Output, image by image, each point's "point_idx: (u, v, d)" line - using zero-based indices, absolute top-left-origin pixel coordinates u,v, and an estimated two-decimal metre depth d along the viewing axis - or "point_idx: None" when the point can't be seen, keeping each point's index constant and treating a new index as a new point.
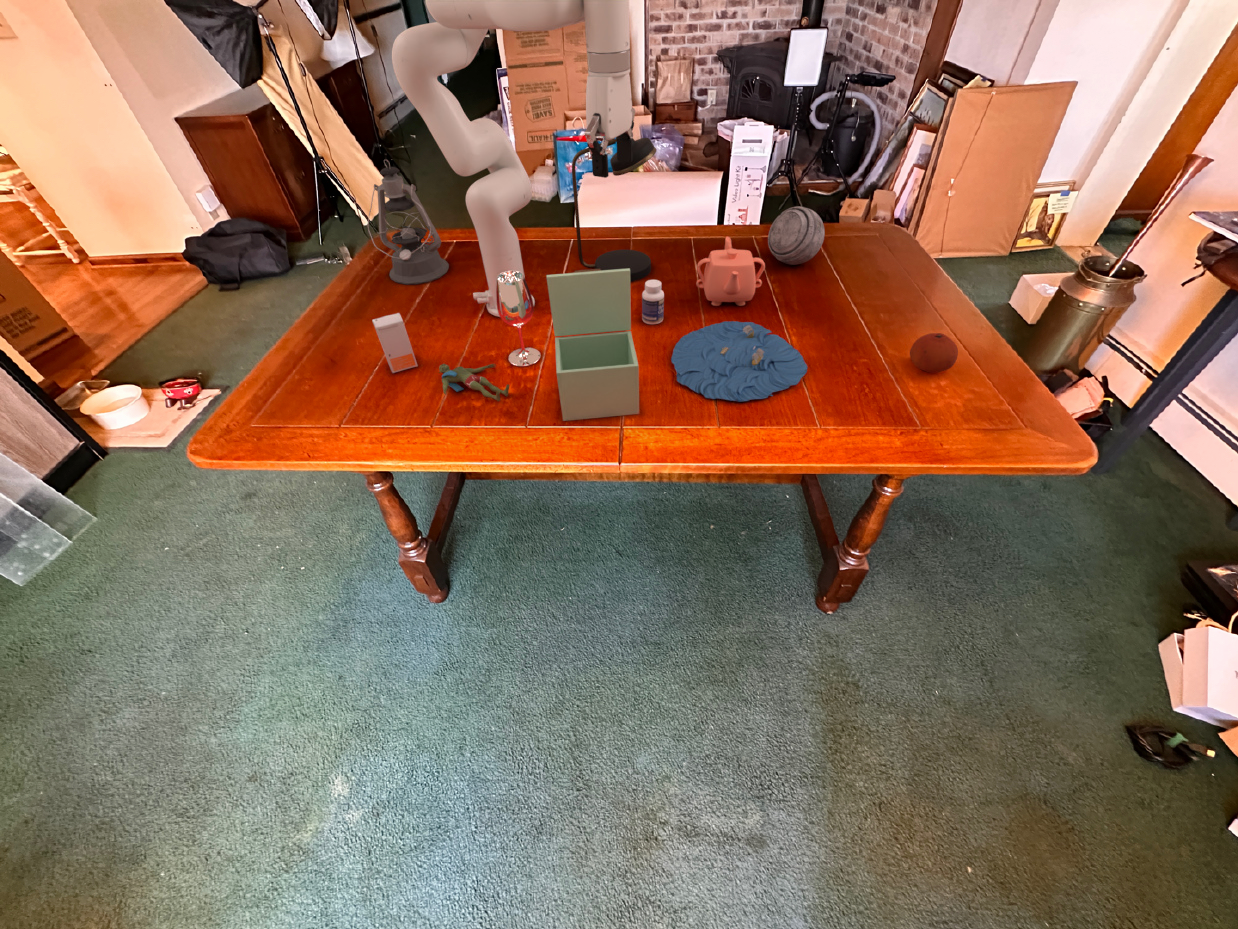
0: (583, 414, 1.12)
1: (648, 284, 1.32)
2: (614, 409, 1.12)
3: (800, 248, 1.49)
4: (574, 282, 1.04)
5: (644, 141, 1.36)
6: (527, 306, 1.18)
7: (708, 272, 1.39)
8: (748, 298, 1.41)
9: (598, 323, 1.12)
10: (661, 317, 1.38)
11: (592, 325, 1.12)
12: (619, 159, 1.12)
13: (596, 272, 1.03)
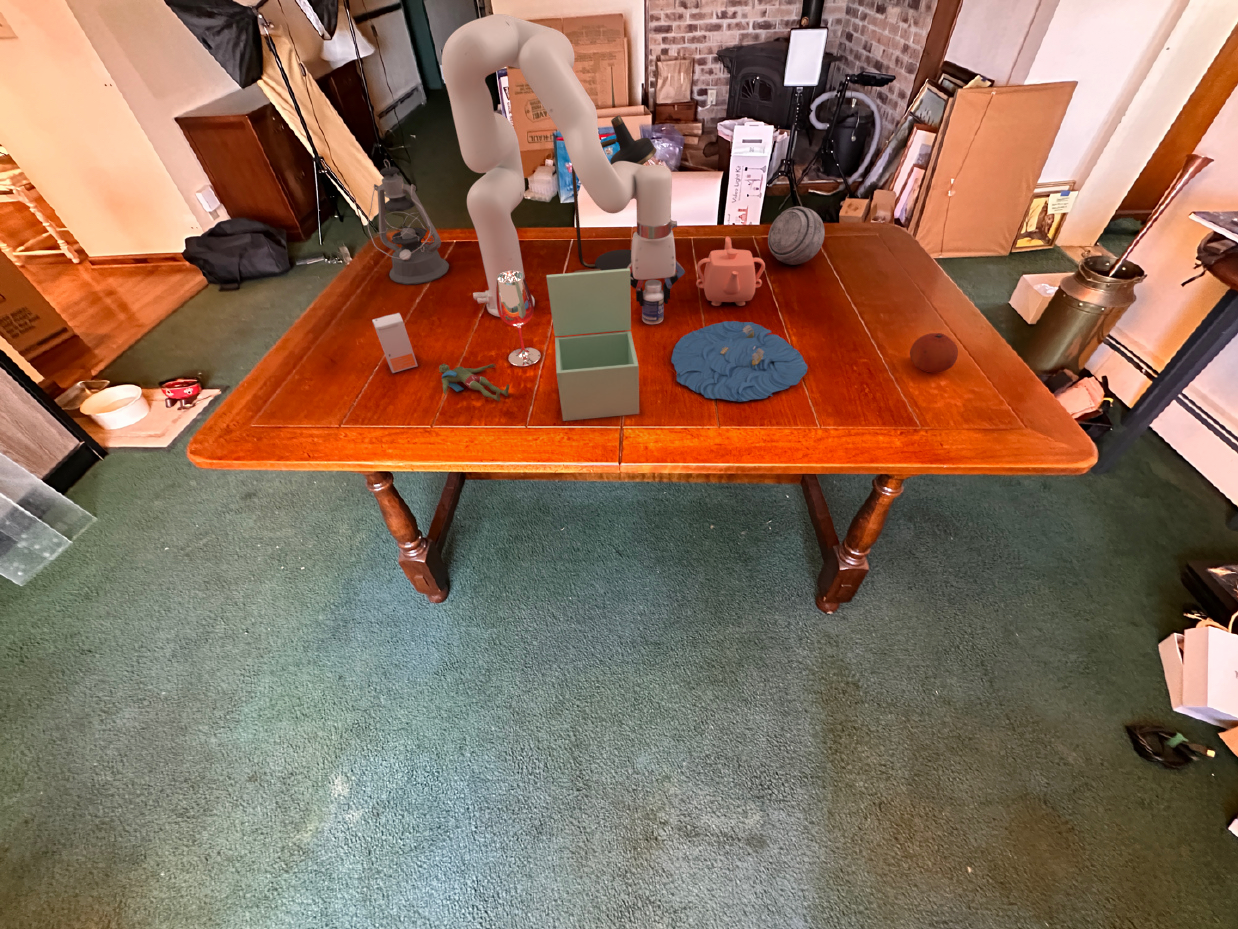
0: (583, 414, 1.12)
1: (648, 284, 1.32)
2: (614, 409, 1.12)
3: (800, 248, 1.49)
4: (574, 282, 1.04)
5: (644, 141, 1.36)
6: (527, 306, 1.18)
7: (708, 272, 1.39)
8: (748, 298, 1.41)
9: (598, 323, 1.12)
10: (661, 317, 1.38)
11: (592, 325, 1.12)
12: None
13: (596, 272, 1.03)
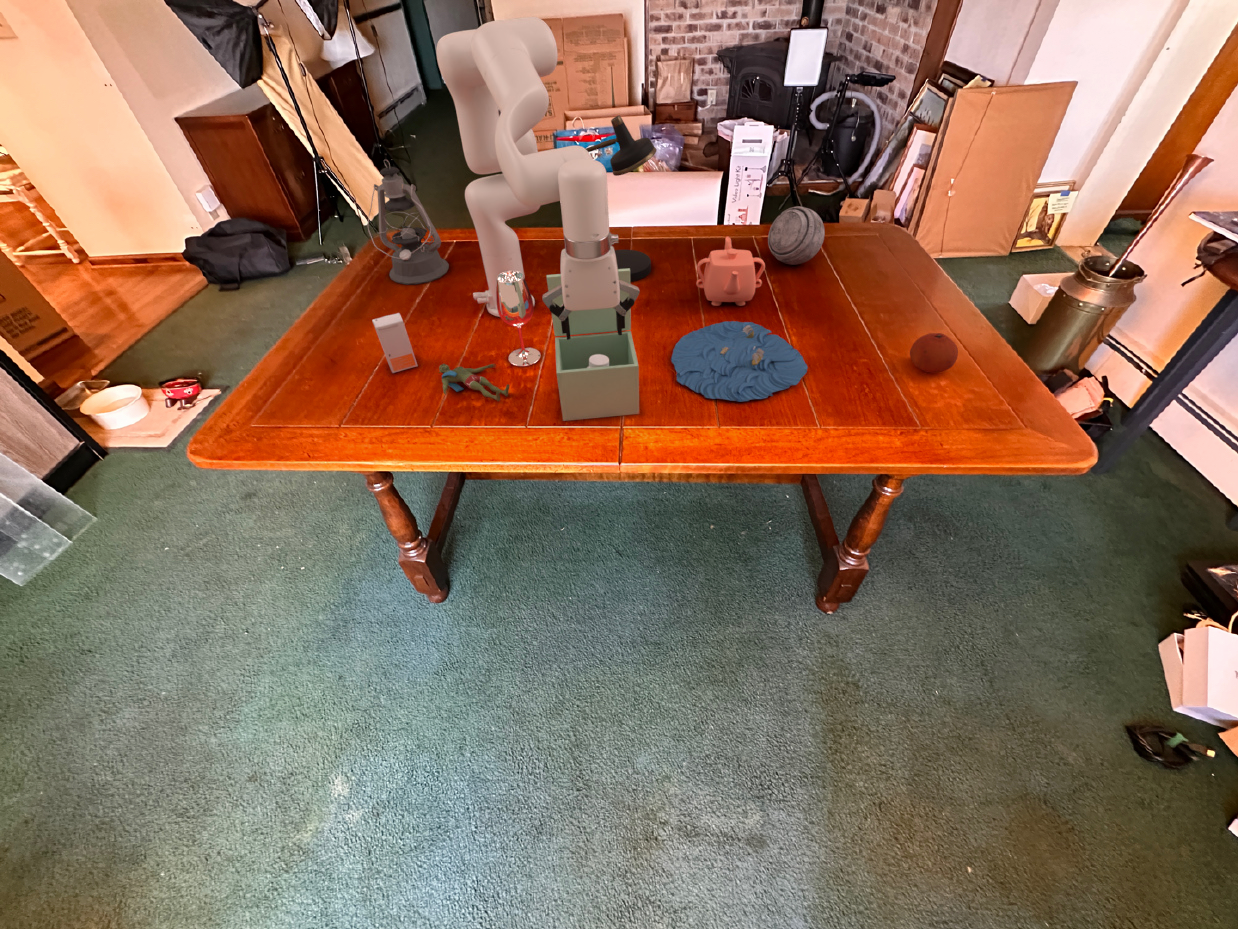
0: (583, 414, 1.12)
1: (592, 360, 1.09)
2: (614, 409, 1.12)
3: (800, 248, 1.49)
4: None
5: (644, 141, 1.36)
6: (527, 306, 1.18)
7: (708, 272, 1.39)
8: (748, 298, 1.41)
9: (598, 323, 1.12)
10: None
11: (592, 325, 1.12)
12: None
13: None
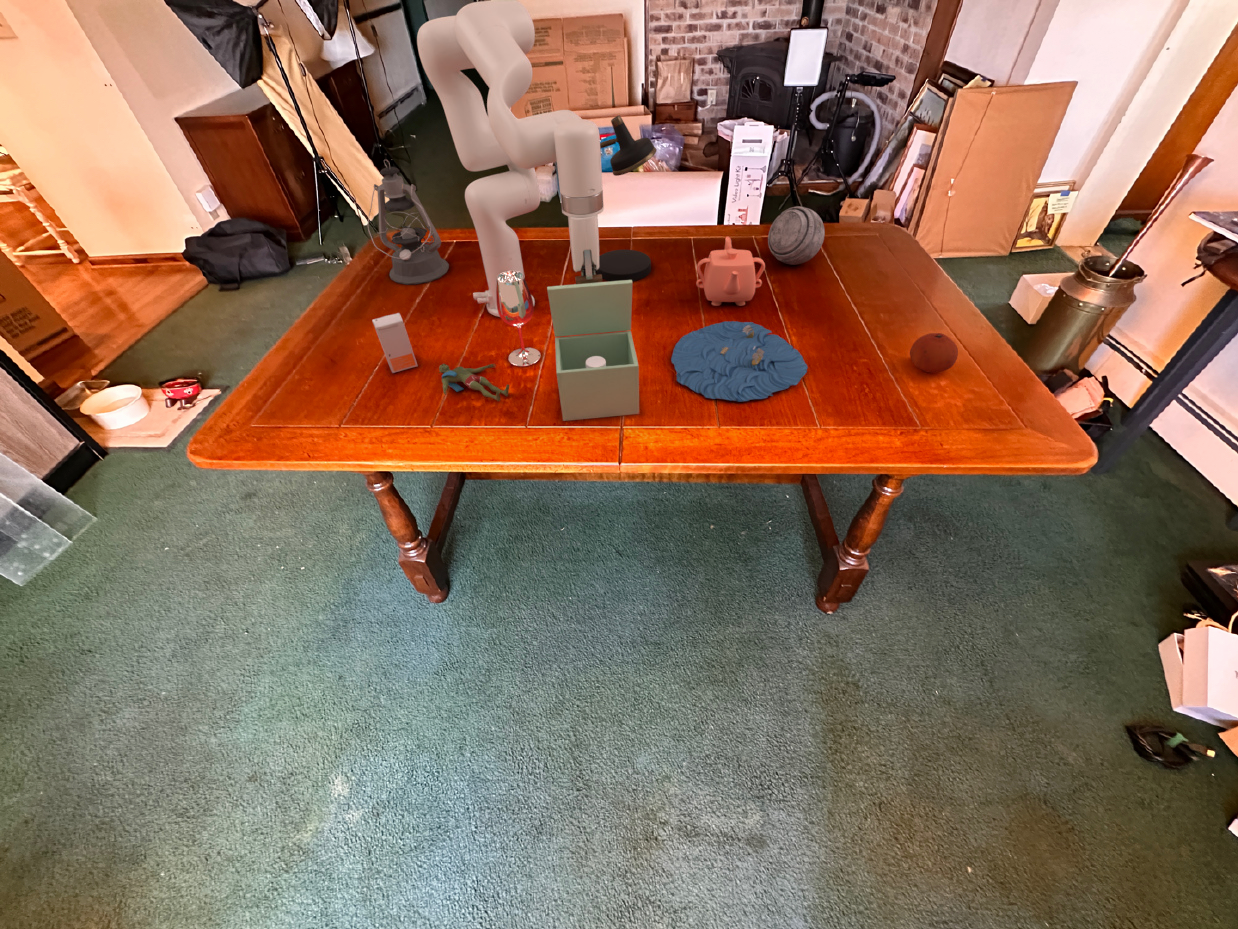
0: (583, 414, 1.12)
1: (589, 363, 1.09)
2: (614, 409, 1.12)
3: (800, 248, 1.49)
4: (575, 293, 1.03)
5: (644, 141, 1.36)
6: (527, 306, 1.18)
7: (708, 272, 1.39)
8: (748, 298, 1.41)
9: (598, 325, 1.11)
10: None
11: (592, 327, 1.12)
12: None
13: (598, 284, 1.02)
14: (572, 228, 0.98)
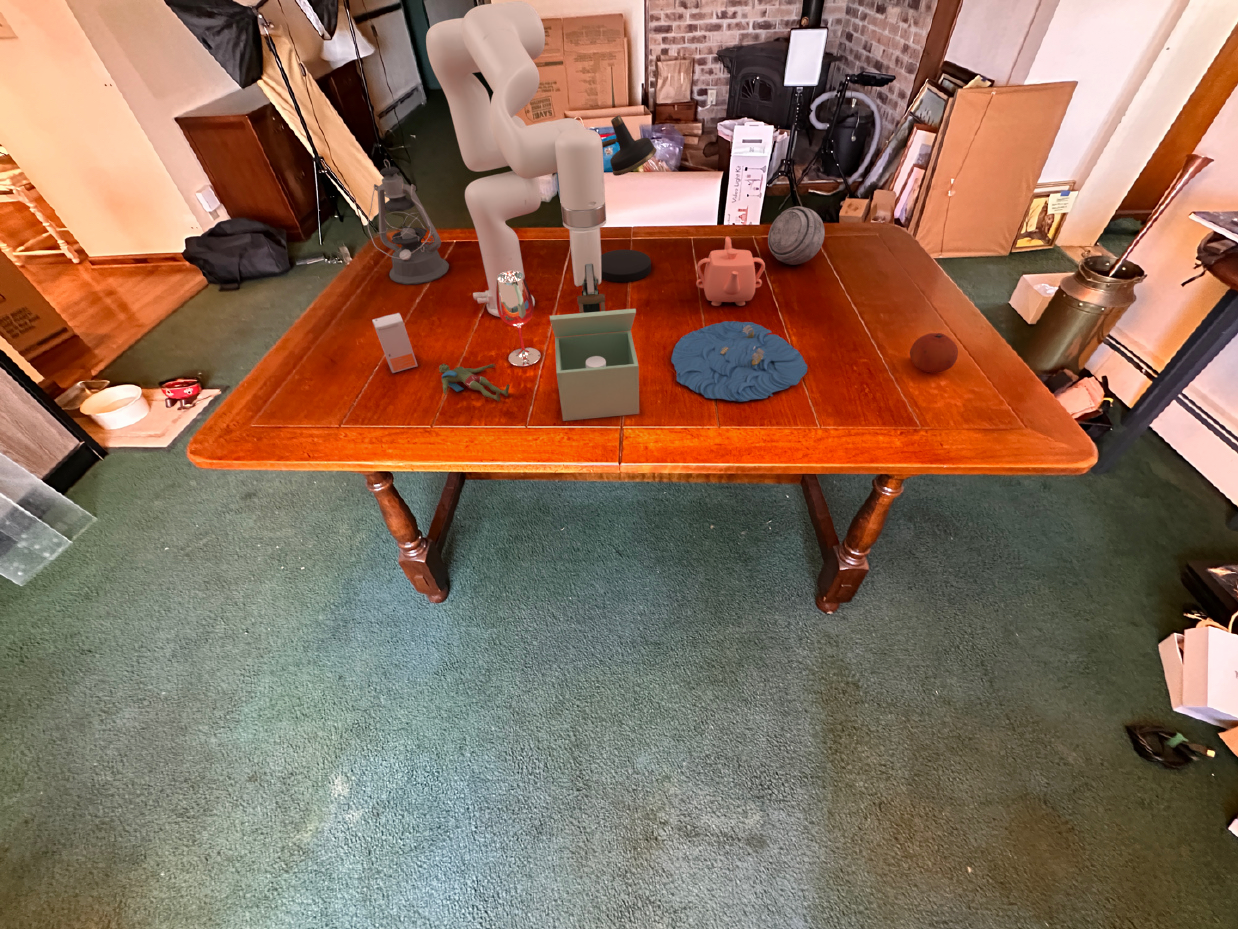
0: (583, 414, 1.12)
1: (589, 363, 1.09)
2: (614, 409, 1.12)
3: (800, 248, 1.49)
4: (578, 320, 1.02)
5: (644, 141, 1.36)
6: (527, 306, 1.18)
7: (708, 272, 1.39)
8: (748, 298, 1.41)
9: (599, 330, 1.11)
10: None
11: (593, 331, 1.12)
12: None
13: (601, 314, 1.00)
14: (573, 242, 0.94)
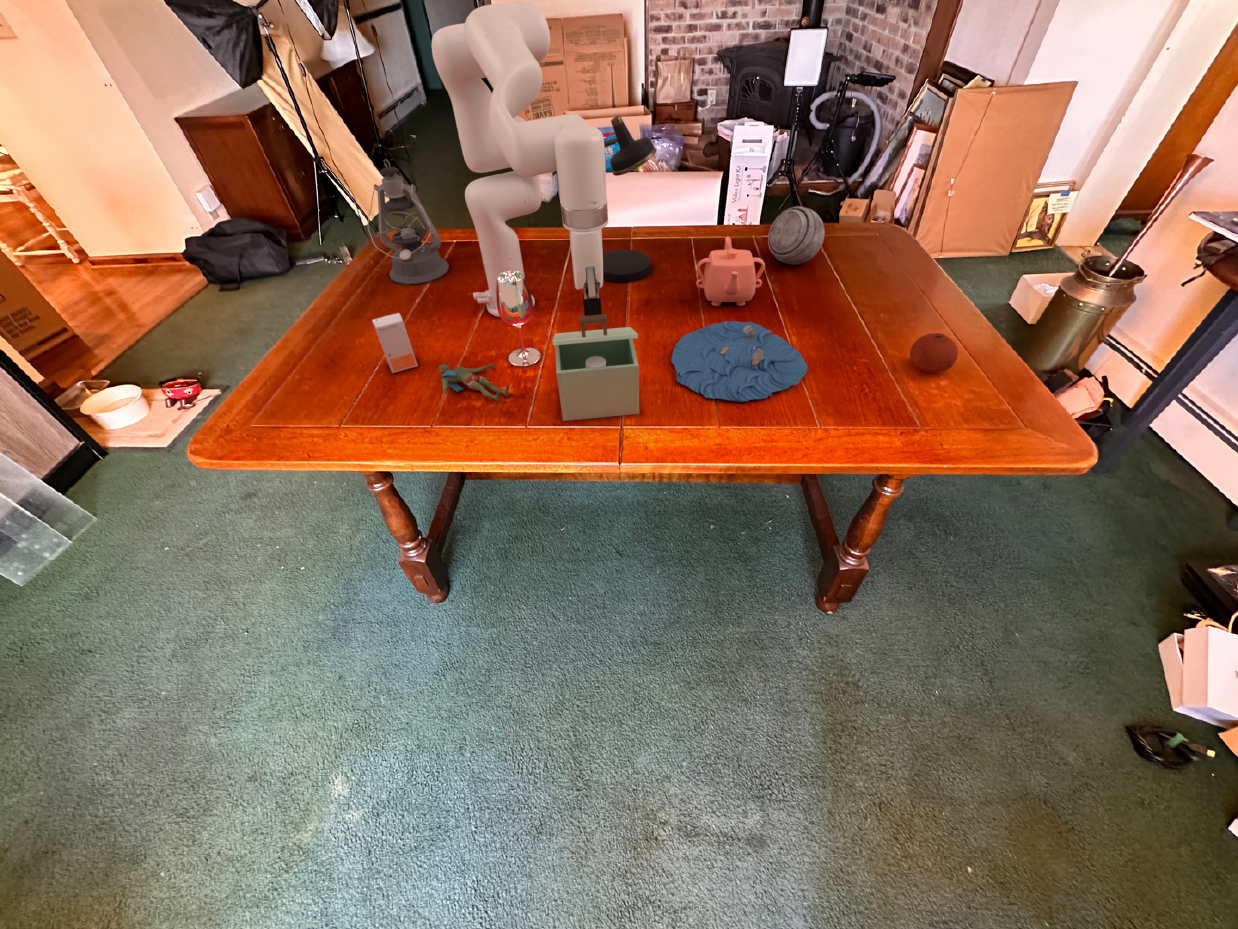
0: (583, 414, 1.12)
1: (589, 363, 1.09)
2: (614, 409, 1.12)
3: (800, 248, 1.49)
4: None
5: (644, 141, 1.36)
6: (527, 306, 1.18)
7: (708, 272, 1.39)
8: (748, 298, 1.41)
9: None
10: None
11: None
12: None
13: (603, 339, 1.01)
14: (574, 243, 0.90)
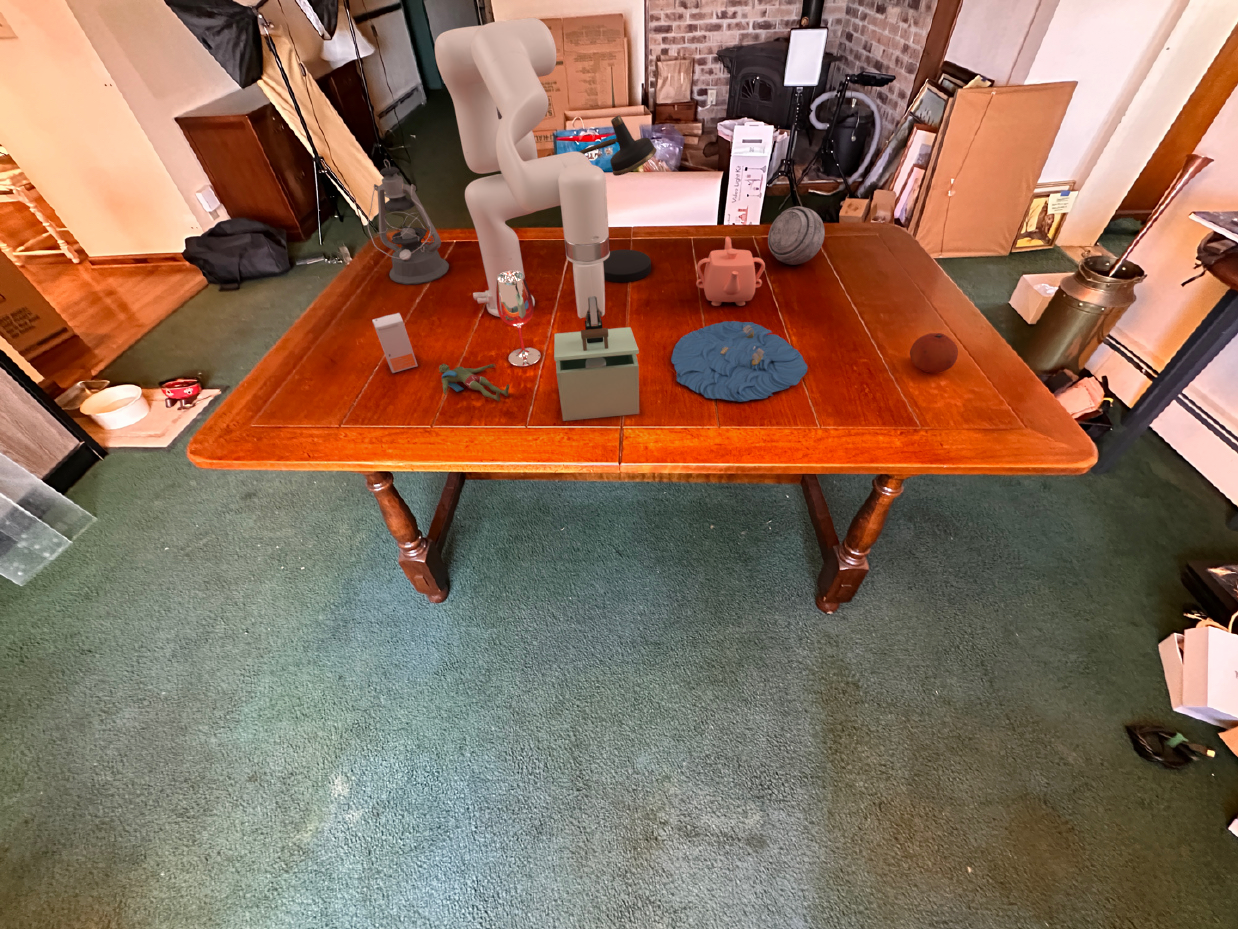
0: (583, 414, 1.12)
1: (589, 363, 1.09)
2: (614, 409, 1.12)
3: (800, 248, 1.49)
4: None
5: (644, 141, 1.36)
6: (527, 306, 1.18)
7: (708, 272, 1.39)
8: (748, 298, 1.41)
9: None
10: None
11: None
12: None
13: (604, 355, 1.02)
14: (577, 275, 0.94)
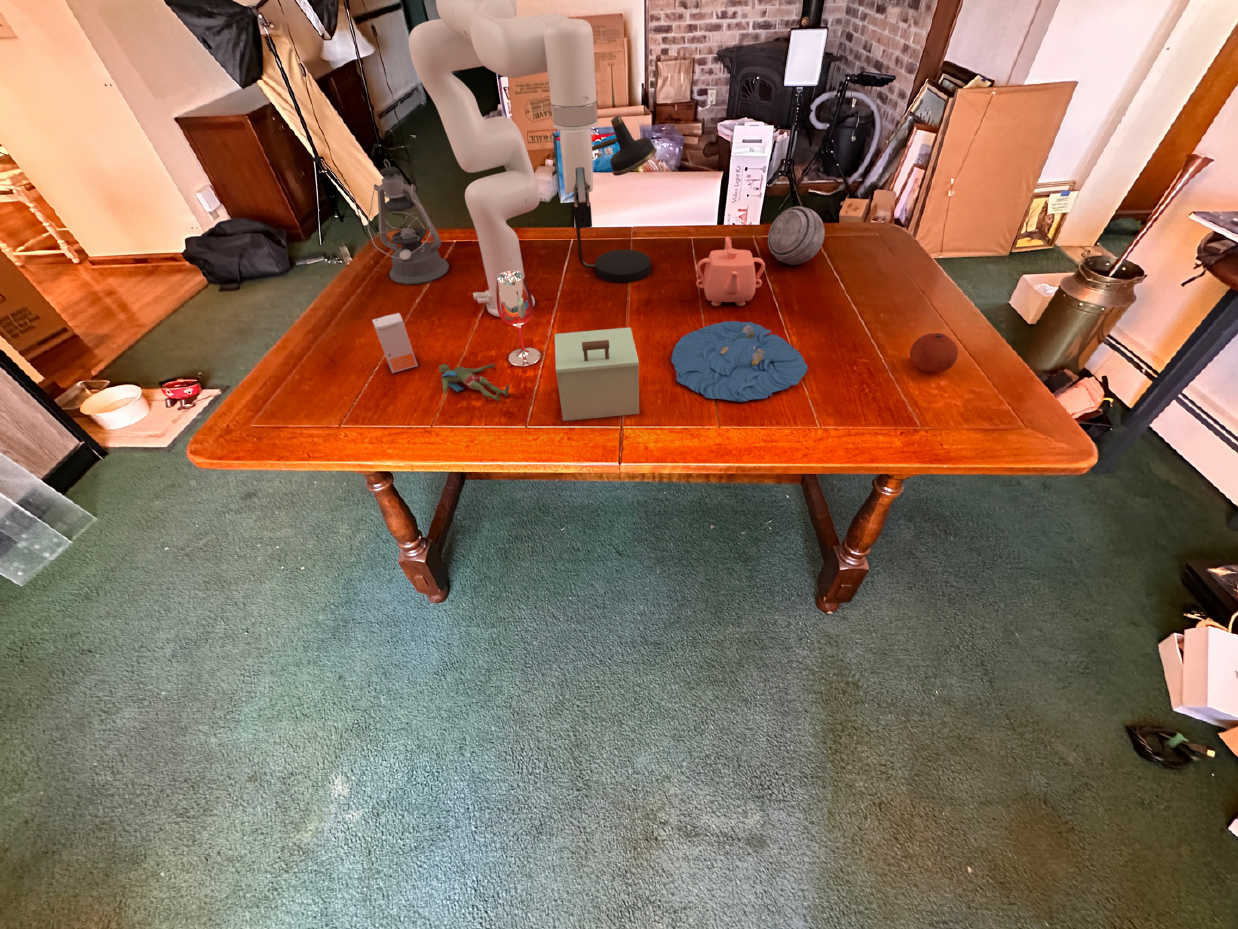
0: (583, 414, 1.12)
1: None
2: (614, 409, 1.12)
3: (800, 248, 1.49)
4: None
5: (644, 141, 1.36)
6: (527, 306, 1.18)
7: (708, 272, 1.39)
8: (748, 298, 1.41)
9: None
10: None
11: None
12: None
13: (605, 367, 1.04)
14: (563, 142, 0.91)
